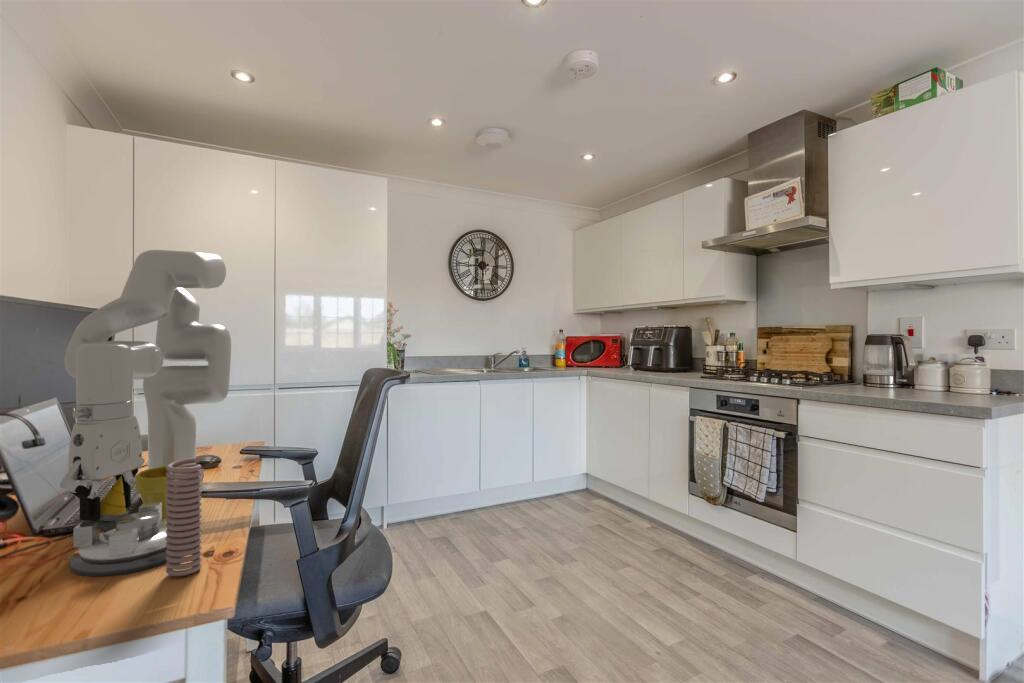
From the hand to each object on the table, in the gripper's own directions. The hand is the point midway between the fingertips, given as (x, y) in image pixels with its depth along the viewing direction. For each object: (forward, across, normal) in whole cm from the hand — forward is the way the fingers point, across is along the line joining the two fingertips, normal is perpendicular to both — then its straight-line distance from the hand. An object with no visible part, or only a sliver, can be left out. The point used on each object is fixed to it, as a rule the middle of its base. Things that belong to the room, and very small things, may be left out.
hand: (106, 512), depth 83 cm
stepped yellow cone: (+4, -1, 0) cm, 4 cm away
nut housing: (+7, -1, -7) cm, 10 cm away
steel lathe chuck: (+5, -1, -7) cm, 9 cm away
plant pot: (+7, +15, +2) cm, 17 cm away
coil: (+6, -7, -21) cm, 23 cm away
